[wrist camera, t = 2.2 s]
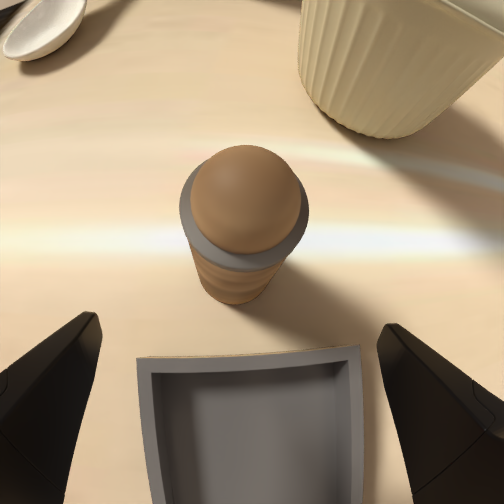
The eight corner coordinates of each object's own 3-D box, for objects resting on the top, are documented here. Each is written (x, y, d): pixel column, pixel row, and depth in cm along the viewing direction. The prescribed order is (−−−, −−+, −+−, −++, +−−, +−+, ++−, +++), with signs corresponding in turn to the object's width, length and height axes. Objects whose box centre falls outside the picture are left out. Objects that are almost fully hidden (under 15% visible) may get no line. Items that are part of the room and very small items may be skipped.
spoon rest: (56, 74, 26) (35, 28, 19) (-3, 76, 26) (-24, 40, 19) (149, -19, 33) (145, -55, 27) (90, -15, 33) (83, -47, 26)
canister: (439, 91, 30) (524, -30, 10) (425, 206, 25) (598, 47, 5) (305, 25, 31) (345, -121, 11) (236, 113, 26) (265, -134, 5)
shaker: (273, 303, 21) (338, 245, 9) (198, 306, 21) (168, 250, 9) (267, 233, 23) (314, 115, 11) (197, 235, 22) (175, 114, 10)
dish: (341, 548, 16) (356, 569, 12) (178, 564, 14) (173, 589, 11) (339, 345, 21) (359, 344, 17) (150, 356, 19) (136, 357, 16)
